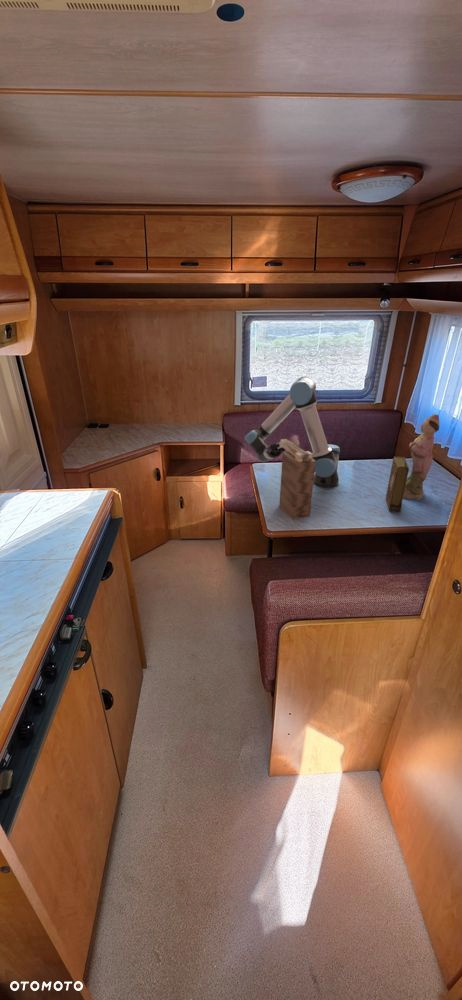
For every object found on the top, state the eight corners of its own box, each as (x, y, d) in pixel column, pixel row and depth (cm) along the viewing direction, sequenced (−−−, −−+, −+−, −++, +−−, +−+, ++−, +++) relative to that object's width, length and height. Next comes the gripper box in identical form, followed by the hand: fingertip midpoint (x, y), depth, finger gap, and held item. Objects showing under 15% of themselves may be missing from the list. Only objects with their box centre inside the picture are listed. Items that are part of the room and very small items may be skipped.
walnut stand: (295, 503, 231) (300, 450, 217) (309, 515, 218) (315, 460, 205) (279, 506, 228) (282, 452, 214) (292, 519, 215) (297, 463, 202)
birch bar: (288, 444, 225) (289, 438, 224) (311, 460, 205) (312, 453, 204) (276, 446, 223) (277, 439, 222) (298, 462, 203) (299, 455, 201)
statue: (424, 490, 247) (442, 413, 227) (423, 501, 234) (441, 421, 214) (396, 485, 253) (411, 409, 233) (393, 496, 240) (408, 417, 220)
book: (385, 498, 238) (393, 455, 227) (395, 498, 237) (404, 456, 226) (388, 511, 223) (397, 467, 212) (399, 512, 222) (409, 467, 211)
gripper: (290, 455, 240) (310, 447, 219) (256, 460, 234) (273, 452, 212) (288, 442, 241) (307, 433, 219) (254, 446, 234) (270, 437, 212)
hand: (290, 442), depth 216 cm, fingers open, 8 cm apart
